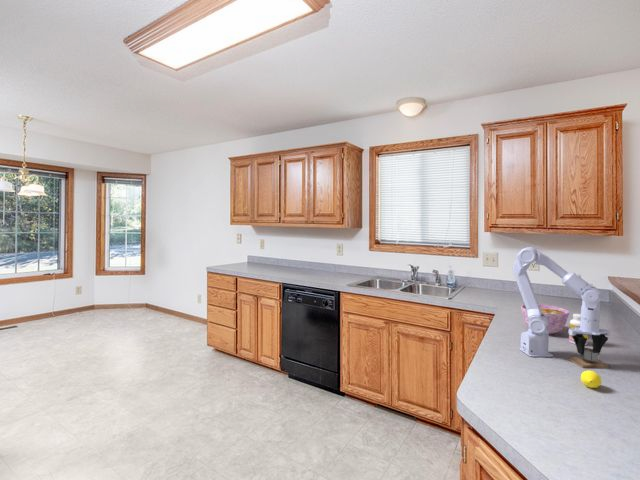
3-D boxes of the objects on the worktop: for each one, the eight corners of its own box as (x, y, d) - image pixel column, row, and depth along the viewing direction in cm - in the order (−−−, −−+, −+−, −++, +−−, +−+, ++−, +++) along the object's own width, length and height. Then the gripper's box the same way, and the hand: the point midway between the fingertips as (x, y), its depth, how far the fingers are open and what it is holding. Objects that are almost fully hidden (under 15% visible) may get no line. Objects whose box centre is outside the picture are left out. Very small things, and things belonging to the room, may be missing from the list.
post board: (582, 367, 127) (583, 354, 126) (567, 359, 135) (567, 346, 134) (609, 368, 127) (610, 354, 126) (592, 359, 135) (593, 346, 134)
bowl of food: (553, 326, 177) (554, 304, 177) (578, 339, 157) (579, 314, 157) (512, 325, 179) (513, 303, 179) (532, 337, 159) (533, 313, 159)
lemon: (580, 382, 116) (581, 366, 116) (601, 387, 113) (602, 371, 113) (579, 387, 111) (580, 370, 111) (600, 392, 107) (601, 375, 108)
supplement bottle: (569, 339, 157) (570, 312, 157) (587, 342, 153) (588, 314, 152) (568, 343, 152) (569, 315, 151) (587, 347, 148) (588, 318, 147)
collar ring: (586, 360, 128) (587, 352, 127) (575, 354, 133) (576, 347, 133) (601, 360, 127) (602, 353, 127) (590, 355, 133) (590, 347, 133)
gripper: (579, 321, 126) (577, 357, 126) (618, 321, 126) (616, 357, 126) (565, 316, 133) (563, 350, 133) (602, 316, 133) (600, 350, 133)
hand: (588, 353), depth 130 cm, fingers closed on collar ring, 5 cm apart
